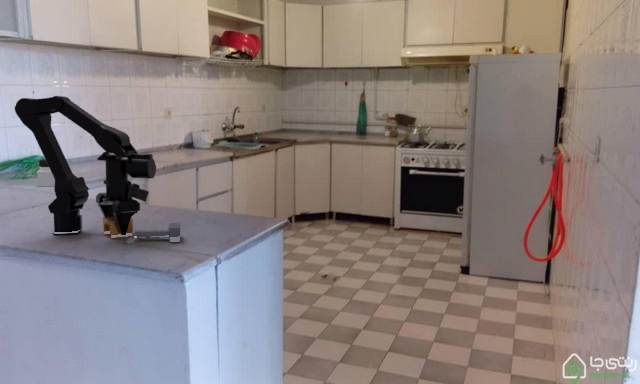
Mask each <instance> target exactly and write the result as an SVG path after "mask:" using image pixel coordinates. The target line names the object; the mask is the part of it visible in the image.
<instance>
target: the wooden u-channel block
mask: <svg viewBox="0 0 640 384" xmlns="http://www.w3.org/2000/svg"><path fill="white" fill-rule="evenodd" d="M133 222H134V221H133V218H131V219H130V222H129V226H128V229H127V233H132V232H133V231H134V226H133V224H134V223H133ZM102 228H103V230H102V232H103V231H104V232H105V231H110V235H118V234H121V232H120V230H119V227H118V224H117V222H116V219H115V216H111V217H104V216H103V217H102ZM133 233H134V232H133ZM110 235H109V236H110Z"/></svg>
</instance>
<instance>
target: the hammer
mask: <svg viewBox="0 0 640 384" xmlns="http://www.w3.org/2000/svg"><path fill="white" fill-rule="evenodd" d="M165 235H169V238H170V237H178V236H180V237H181V222H169V224H168V229H162V230H155V229H145V230H143V229H141V230H138V229H137V230H134V232H133V237H134V236H137V237H151V236H165ZM169 238H168V239H169Z"/></svg>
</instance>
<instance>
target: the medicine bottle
mask: <svg viewBox="0 0 640 384" xmlns="http://www.w3.org/2000/svg"><path fill="white" fill-rule="evenodd" d="M38 167H39V169H38V170H37V171H36V174H37V175H36V176H37V177H36V179H37V187H40V188H41V187H45V188H46V187H48V188H49V187H50V188H51V187H52V188H53V187H55V179H54V177H53V174H52V172H51V170H50V168H49V166H48V164H47V162H46V160H45V158H44V159H40V160H39V161H38Z"/></svg>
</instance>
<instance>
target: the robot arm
mask: <svg viewBox="0 0 640 384" xmlns="http://www.w3.org/2000/svg"><path fill="white" fill-rule="evenodd" d="M14 111H15V114H16V116H17V117H18V119H19V120H20V121H21V123H22V125H24V126H25V127H26V128H28V130H29V131H30V132H31V133H32V134H33V137H34V138H35V140H36V142H37V144H38V146H39V149H40V150H41V152H42V155H43V157H44V159H45V160H46V162H47V164H48V166H49V168H50V170H51V172H52V174H53V177H54V179H55V186H53V187H54V193H55V197H56V198H55V199H53V200H52V201H51V202H50V203H49V205H48V206H47V209H48V211H49V212H50V214H53V229H54V231H53V232H72V231H78V230H81V229H82V230H83V215H81V210H82V209H83V208H84V205H85V203H87V201H88V198H89V197H90V194H89V191H90V188H89V186H87V184H86V180H85V178H84V177H83V176H79V177H77V176H76V175H75V174H74V173H73V172H72V169H71V167H70V165H69V163H68V161H67V158H66V157H65V155H64V152H63V150H62V148H61V146H60V145H61V144H60V143H59V141H58V139H57V137H56V135H55V133H54V131H53V128H52V115H53V114H57V113H60V114H61V115H63V116H64V117H66V118H67V119H68V120H69V121H71V122H72V123H74V124H75V125H77V126H78V127H79V128H81V129H83V130H84V131H86V132H87V133H88V134H90V135H91V136H92V137H93V139H94V141H95V143H96V144H98V145H99V146H100V147H101V148H102V150H104V151H103V152H102V154H101V155H99V156H98V157H97V160H98V161H103V162H105V179H103V185H105V192H98V194H96V195H95V203H96V204H97V206H98V207H99V209H100V211H101V213H102V215H103V217H111V216H115V219H116V222H117V224H118V227H119V230H120V232H121V235H126V233H127V229H128V226H129V222H130V219H132V217H133V216H134V215H135V214H138V212H140V211H141V203H140V202H139V201H138V200H140V201H142V202H147V200H148V197H149V194H150V191H148V190H145V189H143V188H140V185H139V184H138V183H135V182H132V181H130V180H129V177H130V178H134V179H154V178H155V176H156V172H157V165H156V161H155V159H154V157H153V156H154V155H153V154H152V153H144V154H142V153H139V152H138V151H137V150H136V148H135V147H134V146H133V144H132V143H131V139H130V136H129V135H128V134H127V133H126V132H124V131H122V130H119V129H117V127H116V128H115V127H113V126H110V125H107V124H105V123H104V122H102V121H100V119H97V118H96V117H95V116H93V115H92V114H90V113H89V112H88V111H86V110H85V109H83V108H82V107H80V106H79V105H77V104H76V103H75V102H73V101H72V100H71V99H70V98H69V97H67V96H63V95H54V96H51V97H46V98H45V97H44V98H30V97H28V98H26V97H22V98H20V99H18V100H17V101H16V104H15V106H14ZM82 230H81V231H82Z"/></svg>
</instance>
